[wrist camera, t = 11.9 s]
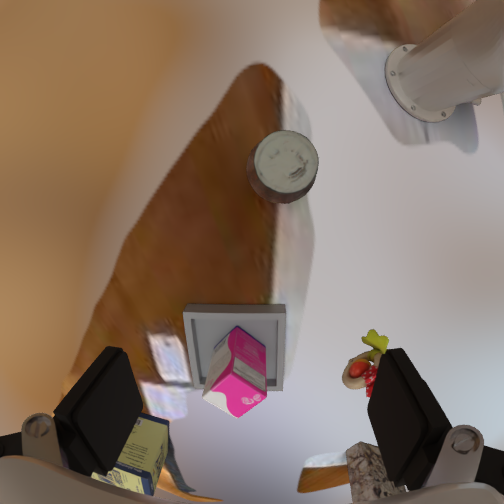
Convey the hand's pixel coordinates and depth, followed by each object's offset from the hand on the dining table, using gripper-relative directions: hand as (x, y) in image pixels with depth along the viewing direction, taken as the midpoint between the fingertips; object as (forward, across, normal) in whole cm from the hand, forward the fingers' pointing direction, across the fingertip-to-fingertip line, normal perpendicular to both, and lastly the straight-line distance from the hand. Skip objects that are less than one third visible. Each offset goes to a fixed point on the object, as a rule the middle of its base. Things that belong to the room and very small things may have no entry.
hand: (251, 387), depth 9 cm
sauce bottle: (+30, -2, -7) cm, 31 cm away
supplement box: (+29, +4, +18) cm, 34 cm away
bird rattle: (+30, -15, +20) cm, 39 cm away
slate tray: (+29, +5, +18) cm, 35 cm away
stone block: (+30, -23, +50) cm, 63 cm away
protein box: (+29, +28, +41) cm, 57 cm away
